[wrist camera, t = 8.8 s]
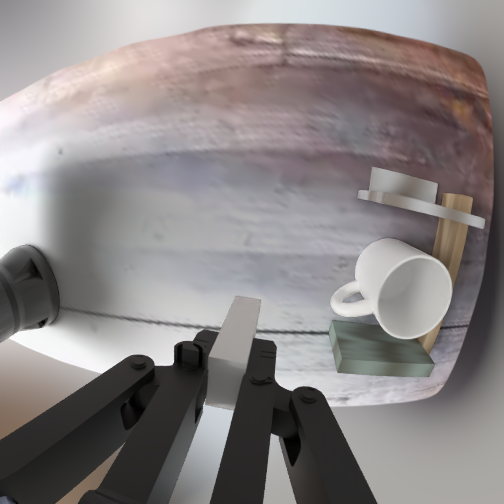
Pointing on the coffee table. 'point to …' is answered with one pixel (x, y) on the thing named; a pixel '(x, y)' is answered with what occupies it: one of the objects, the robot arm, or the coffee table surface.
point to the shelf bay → (445, 250)
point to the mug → (397, 289)
